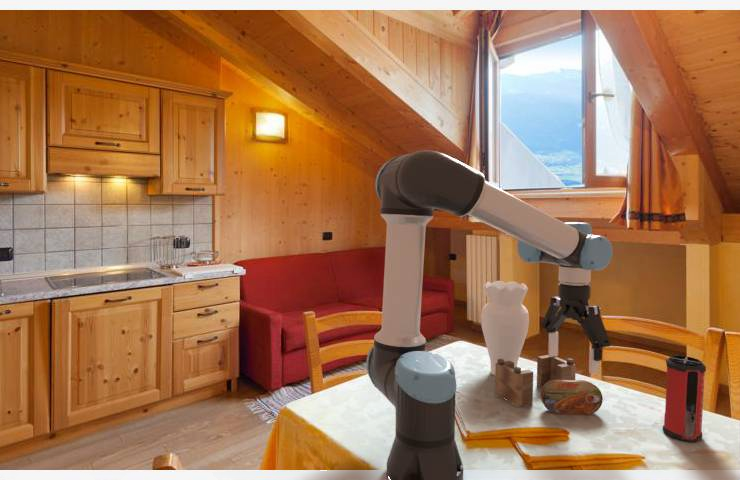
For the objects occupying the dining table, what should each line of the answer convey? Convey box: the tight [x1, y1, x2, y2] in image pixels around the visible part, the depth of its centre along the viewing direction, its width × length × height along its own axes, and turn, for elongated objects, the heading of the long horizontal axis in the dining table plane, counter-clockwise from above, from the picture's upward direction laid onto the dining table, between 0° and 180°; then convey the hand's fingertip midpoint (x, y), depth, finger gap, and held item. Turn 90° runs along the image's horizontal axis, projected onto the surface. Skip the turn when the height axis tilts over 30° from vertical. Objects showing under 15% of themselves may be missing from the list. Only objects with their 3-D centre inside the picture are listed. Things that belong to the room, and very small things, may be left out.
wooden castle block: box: [494, 354, 577, 408], centre depth 130 cm, size 10×20×10 cm, turn 112°
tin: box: [540, 379, 604, 416], centre depth 120 cm, size 15×3×8 cm, turn 85°
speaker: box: [662, 355, 707, 443], centre depth 107 cm, size 8×8×18 cm
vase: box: [480, 280, 530, 377], centre depth 146 cm, size 15×15×29 cm
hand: (572, 364), depth 119 cm, fingers open, 13 cm apart
